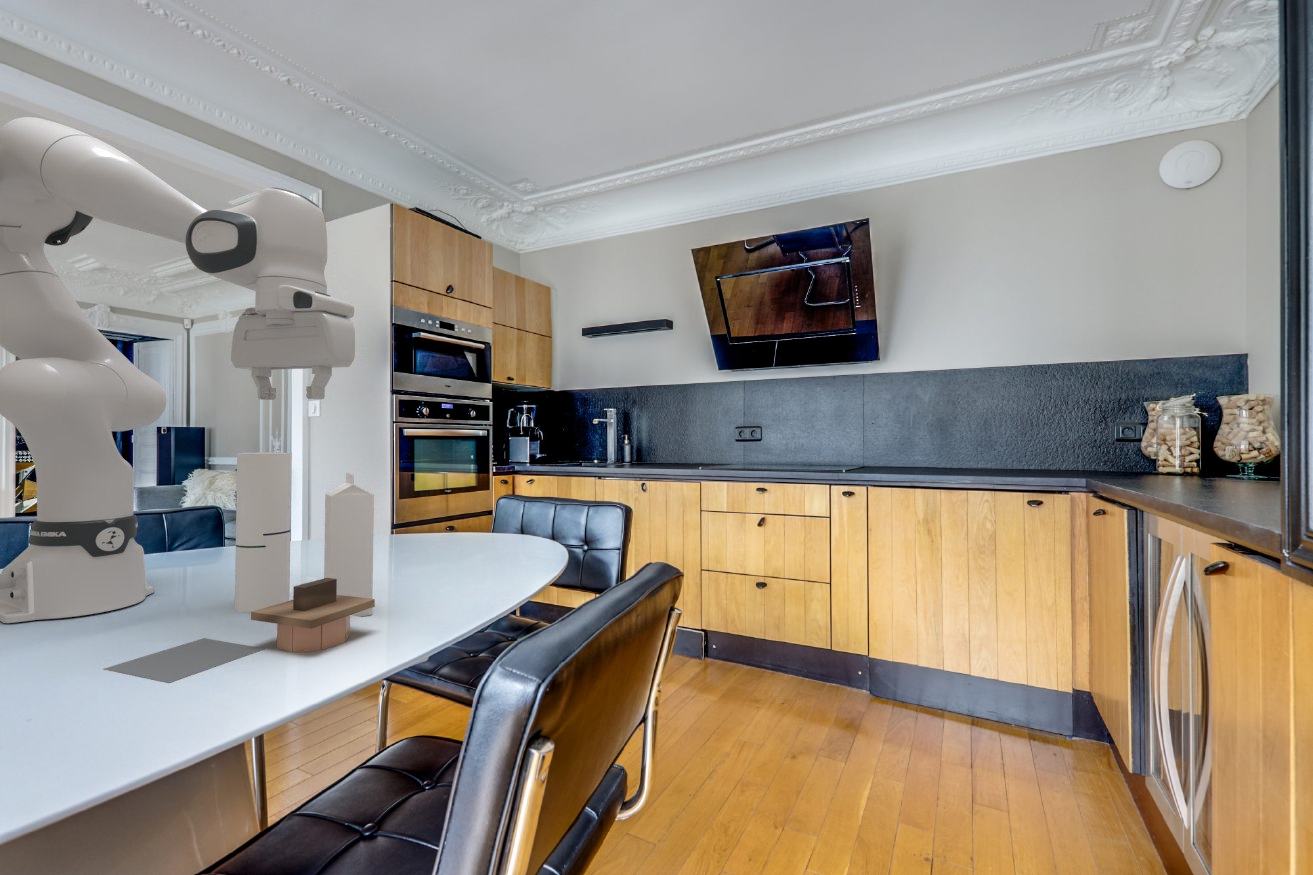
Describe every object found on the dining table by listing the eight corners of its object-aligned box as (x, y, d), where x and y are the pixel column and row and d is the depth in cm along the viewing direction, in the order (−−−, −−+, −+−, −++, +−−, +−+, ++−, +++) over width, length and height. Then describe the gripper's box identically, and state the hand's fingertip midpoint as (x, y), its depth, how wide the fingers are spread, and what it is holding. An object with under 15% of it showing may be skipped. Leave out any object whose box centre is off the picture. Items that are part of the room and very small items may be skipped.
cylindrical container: (295, 611, 92) (297, 453, 92) (240, 621, 87) (243, 454, 87) (281, 602, 97) (284, 452, 97) (229, 611, 92) (232, 452, 92)
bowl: (266, 652, 75) (266, 616, 75) (324, 634, 82) (324, 602, 82) (303, 663, 72) (303, 626, 72) (360, 644, 79) (361, 610, 79)
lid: (250, 619, 74) (251, 588, 74) (318, 599, 84) (319, 571, 84) (311, 628, 71) (311, 595, 71) (374, 606, 80) (375, 577, 80)
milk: (329, 622, 88) (330, 475, 88) (323, 612, 93) (324, 472, 92) (373, 615, 91) (374, 474, 91) (365, 605, 96) (366, 471, 96)
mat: (102, 677, 67) (102, 668, 67) (203, 645, 77) (204, 637, 77) (168, 692, 63) (169, 682, 63) (265, 656, 74) (265, 648, 74)
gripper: (219, 304, 86) (217, 398, 86) (326, 295, 79) (325, 397, 79) (260, 313, 92) (259, 401, 92) (363, 305, 85) (362, 400, 85)
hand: (290, 399), depth 85 cm, fingers open, 8 cm apart
